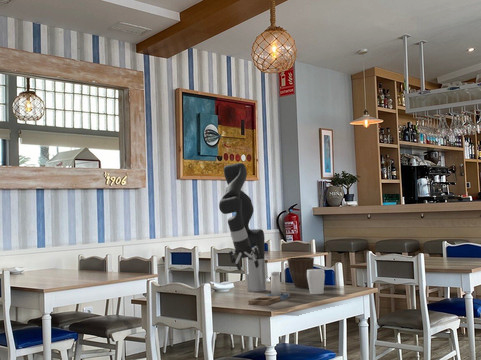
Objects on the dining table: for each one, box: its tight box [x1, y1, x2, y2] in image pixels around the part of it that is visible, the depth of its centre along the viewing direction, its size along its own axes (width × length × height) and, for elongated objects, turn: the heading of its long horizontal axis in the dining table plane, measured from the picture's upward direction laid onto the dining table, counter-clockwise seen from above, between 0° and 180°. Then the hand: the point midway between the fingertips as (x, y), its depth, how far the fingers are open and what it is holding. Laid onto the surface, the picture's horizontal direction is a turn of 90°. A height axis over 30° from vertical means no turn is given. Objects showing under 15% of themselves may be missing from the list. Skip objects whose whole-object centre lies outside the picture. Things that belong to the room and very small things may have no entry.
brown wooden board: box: [247, 292, 291, 306], centre depth 279 cm, size 9×26×2 cm, turn 151°
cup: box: [307, 268, 326, 295], centre depth 301 cm, size 9×9×12 cm
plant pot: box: [286, 256, 315, 289], centre depth 329 cm, size 15×15×16 cm
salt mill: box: [270, 271, 282, 296], centre depth 285 cm, size 4×4×13 cm
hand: (248, 268), depth 283 cm, fingers open, 8 cm apart
